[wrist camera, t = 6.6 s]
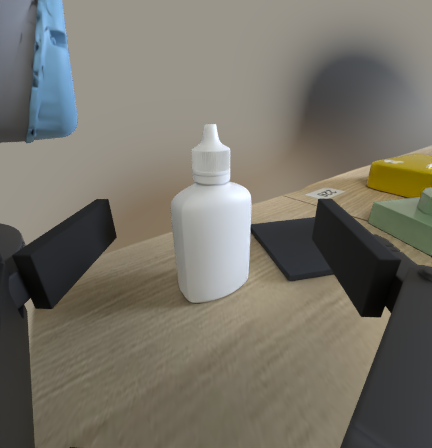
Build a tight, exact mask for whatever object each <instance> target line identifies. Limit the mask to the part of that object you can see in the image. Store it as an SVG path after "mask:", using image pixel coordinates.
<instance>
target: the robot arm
mask: <svg viewBox="0 0 432 448" xmlns="http://www.w3.org/2000/svg"><path fill="white" fill-rule="evenodd" d="M77 123H78V119H77V110H76V102H75V95H74V88H73V80H72V73H71V65H70V58H69V51H68V43H67V35H66V27H65V20H64V12H63V4H62V0H0V143H1V142H19V141H25V142H26V143H31V142H33V141H34V140H40V139H51V138H60V137H66V136H68V135H70V134H71V133H72V132H73V131H74V130H75V129H76V126H77ZM115 238H116V232H115V227H114V223H113V218H112V214H111V209H110V205H109V200H108V199H96V200H95V201H93V202H92V203H90V204H89V205H87V206H86V207H84V208H83V209H81V210H80V211H78V212H77V213H75V214H74V215H72V216H71V217H69V218H68V219H66V220H64V221H63V222H61V223H60V224H59V225H57V226H55V227H54V228H52V229H51V230H49V231H48V232H46V233H45V234H43V235H42V236H40V237H39V238H37V239H36V240H34V241H33V242H31V243H30V244H28V245H27V246H25V247H24V248H22V249H21V250H19V251H18V252H16V253H15V254H13V255H12V256H10V257H8V258H7V259H5V260H4V261H3V259H2V256H1V254H0V448H35V443H34V426H33V408H32V390H31V372H30V354H29V336H28V320H27V310H26V308H25V306H24V304H25V303H26V302H27V301H28V300H29V299H30V298H31V300H32V302H33V304H34V306H35V308H36V309H53V307H54V306H55V305H56V304H57V303H58V302H59V301H60V300H61V299H62V297H63V296H64V295H65V294H66V293H67V292H68V291H69V290H70V289H71V287H72V286H73V285H74V284H75V283H76V282H77V281H78V280H79V279H80V277H81V276H82V275H83V274H84V273H85V272H86V271H87V270H88V269H89V267H90V266H91V265H92V264H93V263H94V262H95V261H96V260H97V259H98V258H99V256H100V255H101V254H102V253H103V252H104V251H105V250H106V249H107V247H108V246H109V245H110V244H111V243H112V242H113V241H114V240H115ZM312 240H313V241H314V243H315V245H316V246H317V248H318V249H319V251H320V252H321V254H322V256H323V257H324V259H325V260H326V262H327V264H328V265H329V267H330V268H331V270H332V271H333V273H334V275H335V276H336V278H337V279H338V281H339V283H340V284H341V286H342V287H343V289H344V290H345V292H346V294H347V295H348V297H349V298H350V300H351V301H352V303H353V305H354V306H355V308H356V309H357V311H358V313H359V314H360V316H361V317H381V315H382V313H383V310H384V307H385V306H386V307H387V308H388V310H389V311H390V312H391V316H390V318H389V321H388V324H387V326H386V329H385V331H384V334H383V337H382V339H381V342H380V345H379V347H378V350H377V352H376V355H375V358H374V360H373V363H372V366H371V368H370V371H369V374H368V376H367V379H366V381H365V384H364V387H363V389H362V392H361V395H360V397H359V400H358V402H357V405H356V408H355V410H354V413H353V416H352V418H351V421H350V423H349V426H348V429H347V431H346V434H345V437H344V439H343V442H342V444H341V447H340V448H432V267H429V266H425V265H417V264H416V263H414V262H413V261H412V260H411V259H410V258H408V257H407V256H406V255H405V254H404V253H402V252H400V250H399V249H398V248H396V247H394V245H393V244H392V243H390V242H389V241H388V240H386V239H384V238H382V237H380V236H378V235H372V234H371V233H370V232H369V231H368V230H367V229H365V228H364V227H363V226H362V225H361V224H360V223H359V222H357V221H356V220H355V219H354V218H353V217H352V216H351V215H349V214H348V213H347V212H346V211H345V210H344V209H343V208H341V207H340V206H339V205H338V204H337V203H336V202H335V201H333V200H332V199H318V204H317V210H316V216H315V222H314V228H313V234H312ZM70 448H75V447H70Z"/></svg>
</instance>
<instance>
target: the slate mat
mask: <svg viewBox="0 0 432 448" xmlns="http://www.w3.org/2000/svg"><path fill="white" fill-rule="evenodd" d="M314 222H315V217H312V218H303V219H295V220H286V221H277V222H268V223H259V224H251V229H250V231H251V232H252V233H253V235H254V236H255V237H256V239H257V240H258V241H259V243H260V244H261V245H262V246H263V248H264V249H265V250H266V252H267V253H268V254H269V256H270V257H271V258H272V259H273V261H274V262H275V263H276V265H277V266H278V267H279V269H280V270H281V271H282V272H283V274H284V275H285V276H286V278H287V279H288V280H289V281H294V280H300V279H307V278H313V277H319V276H325V275H331V274H334V273H333V271H332V270H331V268H330V267H329V265H328V264H327V262H326V260H325V259H324V257H323V256H322V254H321V252H320V251H319V249H318V248H317V246H316V245H315V243H314V241H313V240H312V234H313V228H314Z"/></svg>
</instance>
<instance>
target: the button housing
mask: <svg viewBox="0 0 432 448" xmlns="http://www.w3.org/2000/svg"><path fill="white" fill-rule="evenodd" d="M368 223H370V224H371V225H373V226H375V227H377V228H379V229H381V230H383V231H385V232H387V233H389V234H390V235H392V236H394V237H396V238H398V239H400V240H402V241H404V242H406V243H407V244H409V245H411V246H413V247H415V248H417V249H419V250H421V251H423V252H424V253H426V254H428V255H430V256H432V188H426V189H425V190H424V191H423V192H422V194H421V197H417V198H407V199H398V200H389V201H379V202H374V203H373V206H372V210H371V214H370V217H369V221H368Z"/></svg>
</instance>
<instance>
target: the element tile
mask: <svg viewBox="0 0 432 448" xmlns="http://www.w3.org/2000/svg"><path fill="white" fill-rule="evenodd" d="M367 186H368V187H370V188H372V189H376V190H380V191H384V192H388V193H391V194H395V195H399V196H403V197H407V198H417V197H421V194H422V192H423V191H424V190H425V189H426V188H432V156H430V155H421V154H413V155H407V156H402V157H396V158H390V159H385V160H379V161H374V162H373V163H372V164H371V168H370V172H369V176H368V180H367Z"/></svg>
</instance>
